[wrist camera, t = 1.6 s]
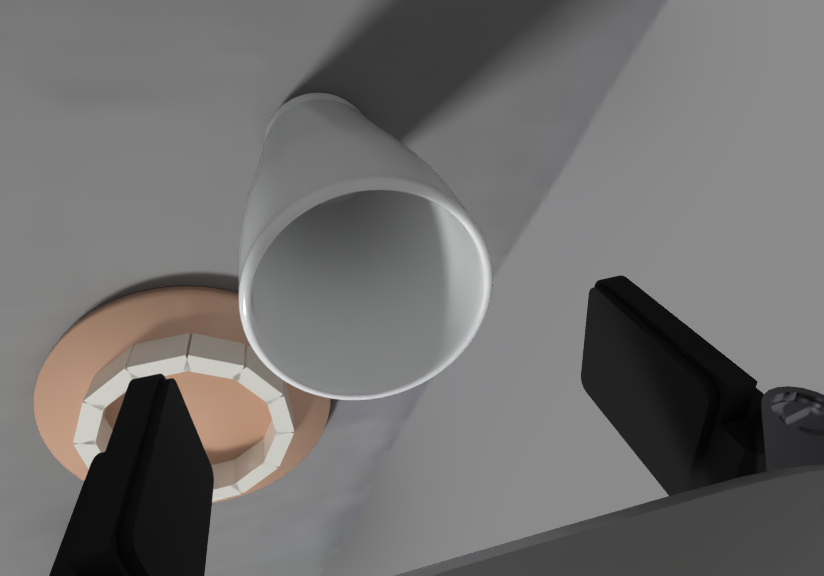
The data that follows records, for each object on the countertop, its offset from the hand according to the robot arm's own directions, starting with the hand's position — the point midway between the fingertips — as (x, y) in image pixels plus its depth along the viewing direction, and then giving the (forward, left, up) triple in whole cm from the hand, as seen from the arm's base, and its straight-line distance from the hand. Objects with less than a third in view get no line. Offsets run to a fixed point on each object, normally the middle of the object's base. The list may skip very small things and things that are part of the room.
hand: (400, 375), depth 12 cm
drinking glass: (-1, 0, -18) cm, 18 cm away
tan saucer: (+13, -10, -17) cm, 24 cm away
